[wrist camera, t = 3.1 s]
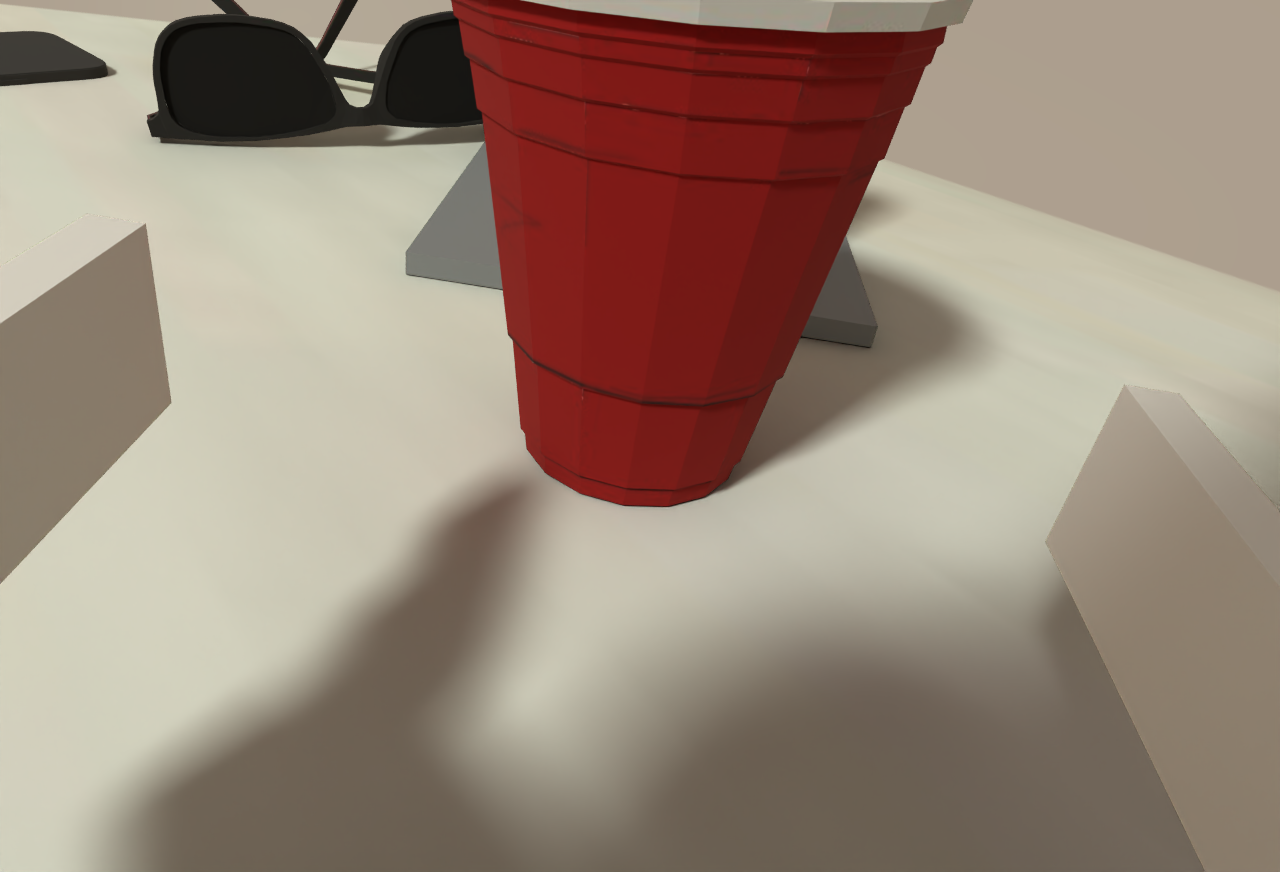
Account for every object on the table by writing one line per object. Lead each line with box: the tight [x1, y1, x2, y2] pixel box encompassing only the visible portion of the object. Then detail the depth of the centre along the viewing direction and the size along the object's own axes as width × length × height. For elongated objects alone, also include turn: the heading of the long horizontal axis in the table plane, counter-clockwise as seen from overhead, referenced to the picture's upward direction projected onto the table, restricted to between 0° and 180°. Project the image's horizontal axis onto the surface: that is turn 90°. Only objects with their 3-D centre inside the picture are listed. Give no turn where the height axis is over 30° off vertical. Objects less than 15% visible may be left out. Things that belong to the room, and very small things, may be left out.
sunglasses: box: [147, 0, 483, 142], centre depth 45 cm, size 17×14×5 cm
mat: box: [406, 142, 878, 347], centre depth 40 cm, size 16×20×1 cm
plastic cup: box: [451, 0, 973, 506], centre depth 22 cm, size 11×11×12 cm
